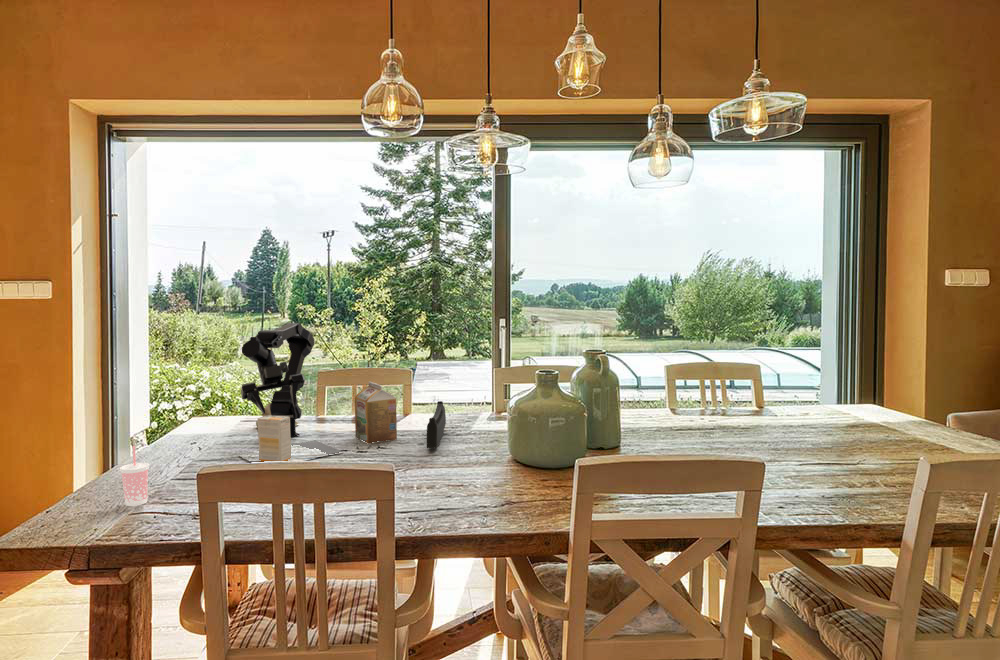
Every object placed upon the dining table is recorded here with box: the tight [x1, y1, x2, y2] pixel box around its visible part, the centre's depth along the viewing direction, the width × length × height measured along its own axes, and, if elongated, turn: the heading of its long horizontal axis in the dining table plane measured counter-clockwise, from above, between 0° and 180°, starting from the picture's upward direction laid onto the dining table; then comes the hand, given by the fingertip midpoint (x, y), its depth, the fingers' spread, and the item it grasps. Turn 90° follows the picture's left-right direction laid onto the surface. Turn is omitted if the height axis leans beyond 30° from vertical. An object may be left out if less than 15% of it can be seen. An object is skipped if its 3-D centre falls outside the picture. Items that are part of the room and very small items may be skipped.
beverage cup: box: [119, 445, 150, 507], centre depth 146 cm, size 6×6×14 cm
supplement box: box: [257, 415, 292, 462], centre depth 179 cm, size 8×5×13 cm, turn 71°
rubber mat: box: [249, 439, 344, 463], centre depth 188 cm, size 19×25×1 cm
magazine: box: [426, 400, 447, 450], centre depth 204 cm, size 17×3×30 cm
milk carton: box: [354, 381, 398, 444], centre depth 207 cm, size 11×11×19 cm
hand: (279, 410), depth 189 cm, fingers open, 9 cm apart
